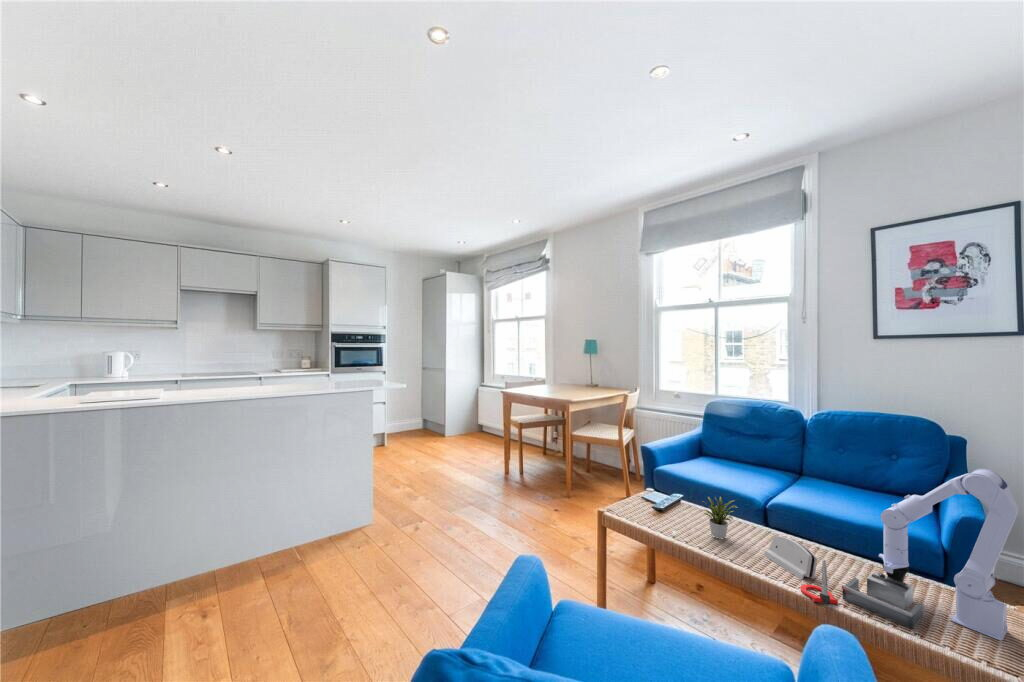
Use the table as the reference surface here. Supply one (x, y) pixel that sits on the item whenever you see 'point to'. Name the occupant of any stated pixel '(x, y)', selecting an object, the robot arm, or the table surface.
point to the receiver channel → (881, 605)
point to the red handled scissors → (820, 589)
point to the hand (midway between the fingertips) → (895, 588)
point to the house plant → (719, 518)
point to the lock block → (890, 590)
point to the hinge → (792, 557)
